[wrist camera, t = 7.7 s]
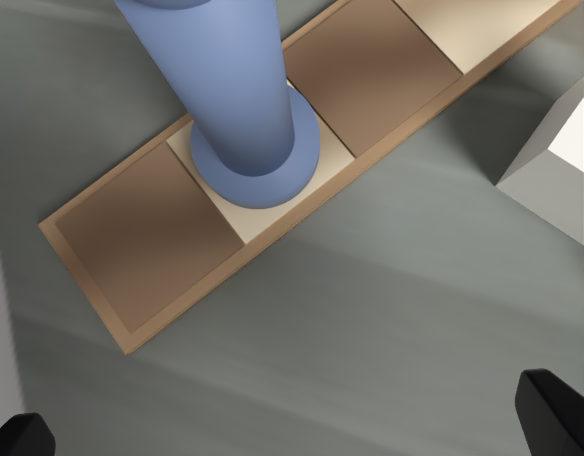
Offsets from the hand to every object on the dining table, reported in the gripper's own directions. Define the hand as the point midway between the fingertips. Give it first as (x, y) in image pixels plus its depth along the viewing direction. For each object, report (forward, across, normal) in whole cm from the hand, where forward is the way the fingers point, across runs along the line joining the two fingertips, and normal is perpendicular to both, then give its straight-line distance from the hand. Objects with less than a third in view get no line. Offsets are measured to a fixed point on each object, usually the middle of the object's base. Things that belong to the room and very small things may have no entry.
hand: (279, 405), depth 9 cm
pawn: (+12, +1, 0) cm, 12 cm away
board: (+13, -2, -1) cm, 14 cm away
